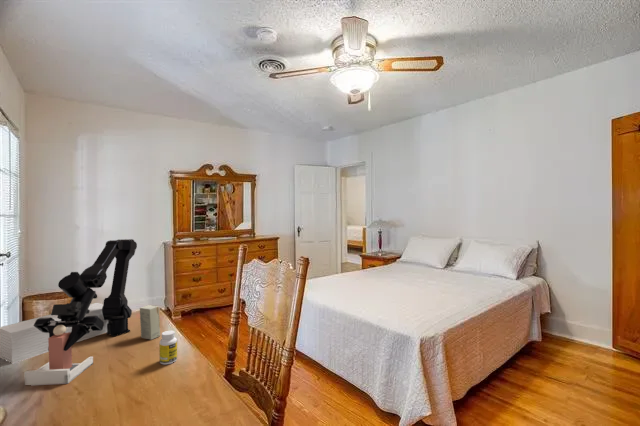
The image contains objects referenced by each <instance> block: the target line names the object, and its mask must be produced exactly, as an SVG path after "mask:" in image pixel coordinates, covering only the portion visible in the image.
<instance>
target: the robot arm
mask: <svg viewBox="0 0 640 426" xmlns="http://www.w3.org/2000/svg"><path fill="white" fill-rule="evenodd" d="M137 246H138V243H137V241H135V240H134V239H133V238H130V239H127V238H125V239H115V240H108V241H106V242H105V246H104V248H103V249H102V251H101V252H100V254H98V256H97V258H96V260H95V261H94V262H93V264H92V265H91V266H89V267H87V268H85V269H84V270H83V271H82V272H81V273H79V272H78V271H71V272H70V274H68V275H66V276H64V277H63V278H62V279H60V280H59V281H58V285H57V286H58V288H59V289H60V290H61V291H62V292H63V293H65V294H66V295H67V296H68V297H69V298H71V301H70V302H69V303H68V302H67V303H65V304H64V303H62V304H61V303H60V304H57V303H56V304H53V306H52V308H51V309H52V310H51V312H50V314H51V315H58V317H57V318H58V319H61V321H55V320H54V319H53V318H51V317H50V318H39V319H37V320H36V322H35V323H34V325H33V326H34V327H36V328H37V329H39V330H40V331H41V332H44V333H49V338H50V337H52V336H53V335H55V334H54V333H53V330H54V328H55V327H56V326H58V325H64V326H65V327H72V332H71V334H70V336H69V338H68V340H67V342H66V344H65V347H64V351H67V350H68V349H69V348H70V347H71V346H74V345H75V344H76V343H78V342H77V341H78V340H79V339H80V338H82V337H83V336H84V335H85V334H87V333H89V332H90V331H89V329H90V327H91V329H92V331H101V330H102V329H103V326H104V322H103V321H102V320H101V319H100V318H99V317H98V316H86V317H85V315H86V314H89V312H90V310H89V309H88V308H89V306H90V304H92V301H93V299H98V294H97V292H96V290H93V289H99V288H102V287H103V286H104V284H105V283H106V279H107V277H108V276H107V270H108V269H109V268H110V266H111V264H112V262H113V261H114V259H115V265H114V272H113V276H112V282H111V283H112V284H111V290H110V294H109V295H108V296H107V297H104V299H103V303H102V304H103V307H102V313H103V317H104V320H108V324H107V332H106V333H105V334H107V335H110V336H112V337H117V336H121V335H123V334H127V333H129V332H131V329H129V319H130V318H131V317H132V313H133V310H132V308H131V307H130V306H129V305H128V298H127V297H126V295H125V293H126V286H127V285H126V284H127V279H128V272H129V266H130V260H131V258H132V257H134V256H135V253H136V250H137V248H138V247H137ZM48 351H49V346H48Z"/></svg>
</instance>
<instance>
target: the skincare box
mask: <svg viewBox="0 0 640 426" xmlns="http://www.w3.org/2000/svg"><path fill="white" fill-rule="evenodd" d="M139 317H140V318H139V319H140V321H139V322H140V323H139V324H140V337H141V338H142V339H145V340H154V339H156V338H158V337H161V326H160V323H161V322H160V306H159V305H151V304H148V305H145V306H142V307H139Z"/></svg>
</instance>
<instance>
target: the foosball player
mask: <svg viewBox="0 0 640 426" xmlns="http://www.w3.org/2000/svg"><path fill="white" fill-rule="evenodd" d="M65 332H66V327H65V326H64V325H58V326H56V327H55V328H54V330H53V333H54V334H55V335H53V336H52V337H50V338H48V344H49V352H48V362H49V370H52V369H69V368H71V367H72V364H73V352H72V351H73V349H72V346H73V345H72V346H71V347H70V348H69V349H68V350H67V351H64V347H65V344H66V342H67V340H68V338H69V336H70V334H71V333H65Z"/></svg>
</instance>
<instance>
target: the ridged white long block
mask: <svg viewBox="0 0 640 426" xmlns="http://www.w3.org/2000/svg"><path fill="white" fill-rule="evenodd" d="M103 304H104V303H100V302H95V303H91V304H90V306H89V308H88V309H89V310H90V312H89V314H86V315H85V317H86V316H98V317H99V318H100V319H101V320H102V321H103V322H104V326H103V329H102V330H101V331H92V329H91V327H90V329H89V331H90V332H89V333H87V334H85V335H84V336H83V337H82V338H80V339H79V340H78V341H77V342H76V343H79V342H82V341H84V340H88V339H91V338H95V337H96V336H100V335H102V334H106V332H107V324H108V320H104V317H103V313H102V307H103ZM50 317H51V318H53V319H54V320H55V321H61V319H58V318H57V317H58V315H51V313H50V314H47V315H44V316H43V315H42V316H39V317H35V318H31V319H28V320H23V321H19V322H15V323H10V324H6V325H3V326H0V359H2V360H4V359H5V360H4V361H6V360H7V361H6V362H8V361H9V362H8V363H10V362H11V363H13V364H16V363H19V362H22V361H25V360H29V359H31V358H34V357H37V356H41V355H43V354H46V353H49V351H48V346H49V344H48V338H49V333H44V332H41V331H40V330H39V329H37V328H36V327H34V326H33V325H34V323H35V322H36V320H37V319H39V318H50ZM71 332H72V327H66V332H65V333H71ZM24 359H25V360H24ZM21 360H22V361H21ZM18 361H19V362H18ZM15 362H16V363H15ZM11 363H10V364H11Z"/></svg>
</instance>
